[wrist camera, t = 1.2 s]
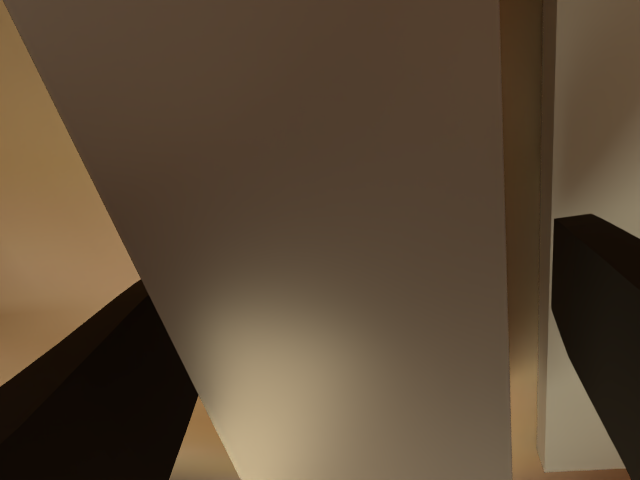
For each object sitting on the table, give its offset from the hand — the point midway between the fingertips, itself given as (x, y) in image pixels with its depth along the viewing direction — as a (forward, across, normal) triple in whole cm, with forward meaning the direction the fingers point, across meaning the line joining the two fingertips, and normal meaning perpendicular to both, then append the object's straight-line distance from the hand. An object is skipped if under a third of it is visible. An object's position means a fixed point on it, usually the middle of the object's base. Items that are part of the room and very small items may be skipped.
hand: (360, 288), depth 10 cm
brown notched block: (+3, 0, 0) cm, 3 cm away
